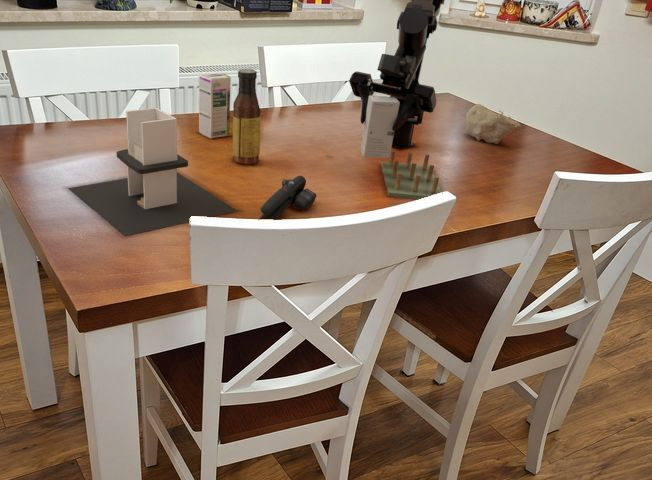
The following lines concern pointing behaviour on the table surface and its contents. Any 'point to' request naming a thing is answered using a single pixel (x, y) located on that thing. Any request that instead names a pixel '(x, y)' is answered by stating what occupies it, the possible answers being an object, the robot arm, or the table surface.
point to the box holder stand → (150, 181)
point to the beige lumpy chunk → (489, 124)
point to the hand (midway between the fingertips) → (377, 126)
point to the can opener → (288, 198)
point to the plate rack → (409, 178)
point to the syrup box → (214, 104)
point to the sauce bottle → (246, 120)
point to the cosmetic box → (379, 126)
